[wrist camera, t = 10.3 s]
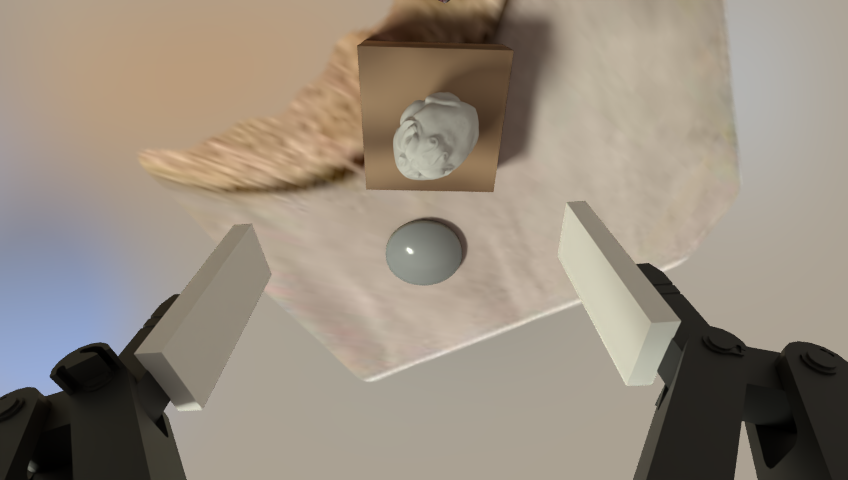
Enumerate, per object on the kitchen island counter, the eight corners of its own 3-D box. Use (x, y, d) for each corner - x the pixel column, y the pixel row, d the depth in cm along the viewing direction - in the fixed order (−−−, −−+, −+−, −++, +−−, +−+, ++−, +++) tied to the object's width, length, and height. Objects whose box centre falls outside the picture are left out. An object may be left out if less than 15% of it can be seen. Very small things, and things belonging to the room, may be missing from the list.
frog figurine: (380, 120, 31) (371, 148, 25) (446, 64, 29) (454, 80, 23) (424, 173, 34) (426, 209, 28) (488, 125, 32) (505, 153, 26)
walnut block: (365, 39, 32) (357, 45, 28) (501, 43, 33) (513, 50, 28) (372, 168, 39) (366, 189, 35) (485, 171, 39) (493, 192, 35)
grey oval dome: (382, 222, 42) (381, 225, 41) (461, 217, 42) (462, 221, 41) (390, 282, 47) (389, 287, 46) (461, 279, 47) (461, 283, 46)
